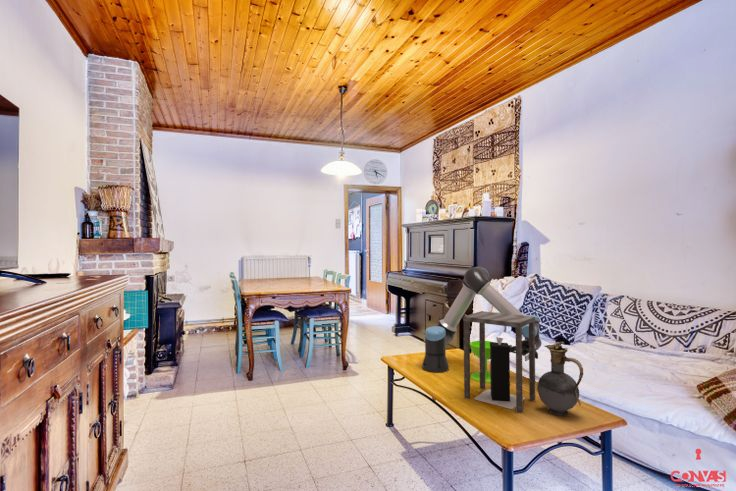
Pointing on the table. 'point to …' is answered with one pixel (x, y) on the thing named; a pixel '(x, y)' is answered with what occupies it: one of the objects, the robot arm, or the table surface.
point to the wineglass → (476, 350)
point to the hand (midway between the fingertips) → (511, 355)
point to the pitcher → (559, 383)
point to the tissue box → (500, 370)
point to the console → (516, 322)
